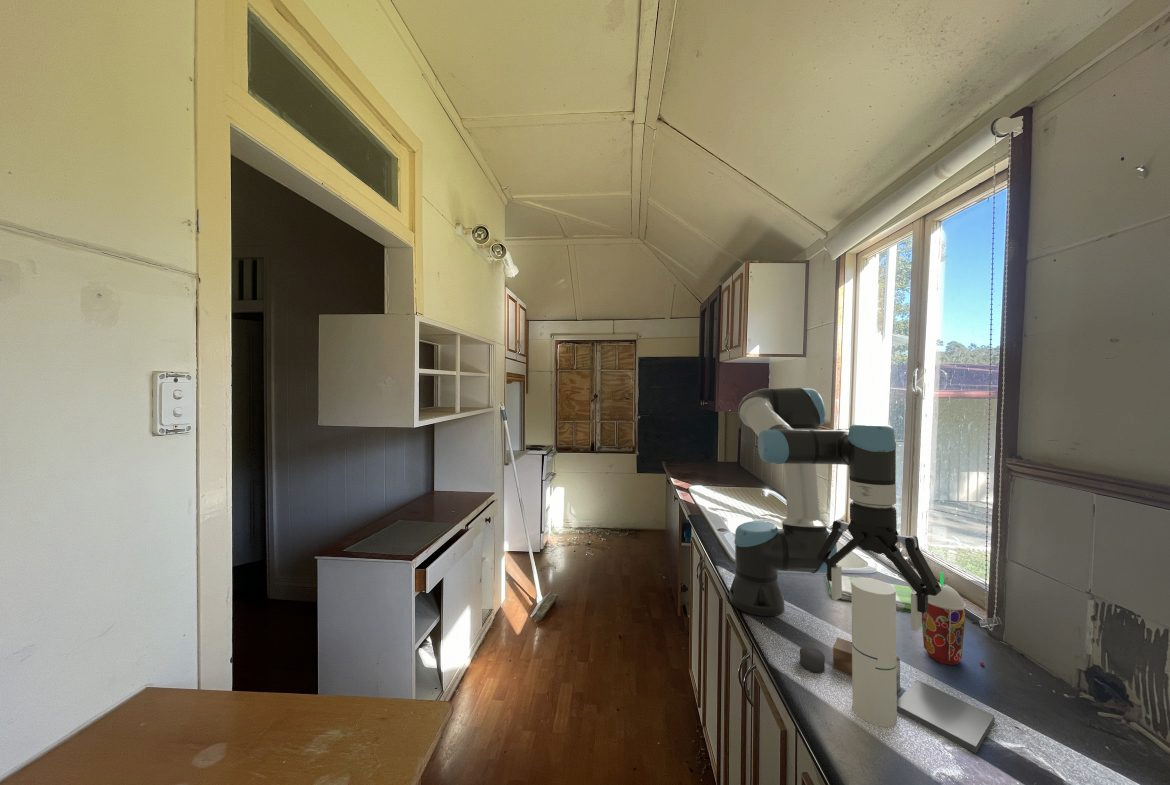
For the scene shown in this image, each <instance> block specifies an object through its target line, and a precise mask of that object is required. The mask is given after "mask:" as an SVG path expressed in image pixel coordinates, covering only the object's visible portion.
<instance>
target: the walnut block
mask: <svg viewBox="0 0 1170 785" xmlns="http://www.w3.org/2000/svg"><path fill="white" fill-rule="evenodd" d="M832 662H833V666H832V668H833V670H835V671H837V672H840V673H843V674H846V675H849V676H851V677H852V641H850V640H846V639H843V638H840V637H838V636H837V637H836V640H835V642H834V644H833V647H832Z"/></svg>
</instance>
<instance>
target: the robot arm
mask: <svg viewBox="0 0 1170 785" xmlns="http://www.w3.org/2000/svg"><path fill="white" fill-rule="evenodd" d="M738 404H739V405H738V408H737V414H738V417H739V419H740V420H741V422H742V423H743V425H745V426H747V427H748V428H751V429H752V430H753V432H754V433H755V434H756V436H757V450H758V454H759V458H760V460H761V461H762V462H764V463H767V464H769V463H771V464H772V463H773V464H777V465H782V464H783V466H784V467H783V468H784V470H783V471H784V482H785V483H784V484H785V500H786V517H785V519H784V520H783V521H782V523H781V524H782V528H778V527H777V525H776V524H774V522H770V521H764V520H763V521H762V520H754V521H747V522H743V523H741V524H740V525H739V524H738V526H737V527H736V529H735V534H734V541H733V542H734V548H735V549H734V553H735V555H734V557H735V558H734V561H735V562H734V563H735V564H734V565H735V575H734V576H733V580H732V583H731V586H730V589H729V601H730V602H729V603H731V605H732V606H734V607H735V608H736V609H738V610H740V611H742V612H745V613H747V614H750V615H754V616H759V617H760V616H761V617H774V616H777V615H780V614H782V613H783V612H784V611H785V598H784V595H783V593H782V589H781V586H780V583H779V581H778V580H779V579H778V577H779V576H778V573H779V572H780V571H781V572H782V571H783V572H797V573H798V572H800V573H811V574H813V575H814V574H826V573H827V578H828V580H829V581H832V597H831V600H834V601H837V600H840V599H839V598H841V597H842V575H843V573H842V572H843V571H842V565H840V564H838V563H839V562H840V561H841V560H843V559H844V558H845V557H847V556H848V555H849V554H850V553H851V552H853V551H854V550H855V549H856V548H857V547H860V548H861V550H863V551H867V552H868V551H870V552H873V553H875V554H878V555H882V554H883V555H884V556H885V557H886V558H887V559H888V560H889V561H891V563H892V564H893V565H894V566H895V568H896V569H897V571H899V573H900V574H901V576H902V577H903V578H904V579H905V580H906V582H907V583H908V584H909V585H910V588H911V589H912V591H913V592H912V593H911V612H910V619H911V620H910V625H911V626H910V627H911V628H910V630H912V631H915V632H918V630H920V629H921V628H922V613H925V612H926V611H927V610H928V595H932V596H936V595H937V594H938V593H940V592H941V587H940V585H939V584H938V583H939V582H938V580H937V578H936V576H935V575H934V573H933V571H932V569H931V567H930V566H929V564H928V562H927V560H926V558H925V556H924V554H923V552H922V551H921V549H920V545H919V538H918V537H917V535H915V534H911V535H901V534H899V532H898V530H897V522H898V521H897V508H896V507H895V506H894V505H896V504H897V482H896V476H897V475H896V474H897V473H896V472H897V470H896V468H897V467H896V466H897V464H896V462H897V461H896V460H897V457H896V456H897V454H896V452H897V442H896V436H895V435H896V434H895V429H894V427H892V426H891V425H889V424H880V423H854V424H851V425H849V428H837V429H835V428H834V429H820V428H819V427H821V426H822V425H824V424H825V421H826V418H825V417H826V408H825V407H826V406H825V404H824V400H823V398H822V396H821V394H820V393H819V392H818V391H817V390H816V389H813V388H806V387H805V388H804V387H803V388H802V387H787V388H786V387H785V388H759V389H757V390H754V391H751V392H749V393H748V394H747V395H745V396H744V397H743V398H742V399H741V400H740V402H739V403H738ZM816 465H844V466H845V465H846V466H848V468H849V469H848V470H849V476H848V479H849V499H850V500H851V502H850V503H849V520H850V522H849V523H848V522H846V521H845V520H844V519H842V518H839V519H836V520H834V521H833V522H832V527H831V531H829V530H828V528H827V527H828V526H827V524H826V523H825V522H824V521H823V520H821V516H820V514H821V513H820V504H819V503H820V501H819V491H818V479H817V478H818V476H817V466H816ZM846 531H848V533H849V534H850V535H851V537H852V539H850V540H849V541H848V542H847V543H846V544H845V545H844V546H842V548H840V549H839V550H838V546H837V545H838V542H839V540H840V538H841V537H842V535H843V533H844V532H846ZM898 542H899V543H900V544H901V545H902V547H903V548H905V550H906V552H907V555H908V556H909V558H910V561H911V562H912V564H913V567H914V568H915V569H914V568H913V567H912V566H911V564H909V562H908V561H907V559H906V558H905V557H904V556H903V555H902V552H901V550H900V549H899V548H898V547H897V545H896V544H898ZM778 571H779V572H778ZM916 571H917V572H916Z"/></svg>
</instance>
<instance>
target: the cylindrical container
mask: <svg viewBox="0 0 1170 785" xmlns="http://www.w3.org/2000/svg"><path fill="white" fill-rule="evenodd" d="M890 584H891V583H889V582H888V583H887V582H886V581H883V580H880V579H877V578H870V577H863V576H861V577H860V576H859V577H854V579H852V580H851V594H852V601H851V642H852V676H851V677H852V678H851V679H852V684H851V685H852V690H851V691H852V693H851V694H852V698H851V700H852V709H853V711H854V712H855V714H856V715H857V716H859V717H860V718H861V719H862V720H864V721H866V722H867V723H869V724H871V725H873V726H877V727H882V728H892V727H894V726H896V725H897V723H898V712H897V701H898V698H897V697H898V696H897V693H898V692H897V678H896V656H897V610H896V590H895V588H894V587H893V586H891V585H890Z"/></svg>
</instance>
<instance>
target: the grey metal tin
mask: <svg viewBox="0 0 1170 785" xmlns="http://www.w3.org/2000/svg"><path fill="white" fill-rule="evenodd" d="M896 678H897V693H898V692H900V691H901V660H900V657H899V656H898V655H896Z"/></svg>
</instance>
